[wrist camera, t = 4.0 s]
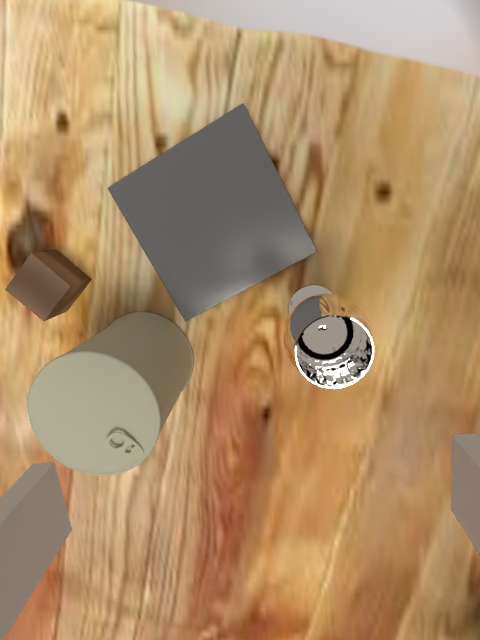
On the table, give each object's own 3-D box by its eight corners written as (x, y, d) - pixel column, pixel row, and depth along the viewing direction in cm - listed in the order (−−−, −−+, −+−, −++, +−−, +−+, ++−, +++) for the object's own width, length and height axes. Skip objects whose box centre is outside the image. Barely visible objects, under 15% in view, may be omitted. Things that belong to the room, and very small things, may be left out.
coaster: (244, 106, 31) (243, 103, 31) (316, 250, 34) (317, 251, 33) (111, 189, 34) (107, 188, 33) (187, 319, 36) (185, 321, 35)
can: (154, 421, 39) (105, 505, 27) (80, 362, 38) (-4, 423, 26) (213, 355, 37) (187, 416, 25) (136, 291, 36) (71, 323, 24)
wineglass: (280, 340, 36) (284, 396, 24) (280, 277, 35) (286, 305, 23) (344, 340, 35) (380, 398, 24) (347, 277, 34) (387, 305, 22)
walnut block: (57, 249, 36) (31, 253, 32) (92, 279, 36) (70, 286, 32) (33, 282, 36) (5, 289, 33) (67, 311, 37) (43, 321, 33)
